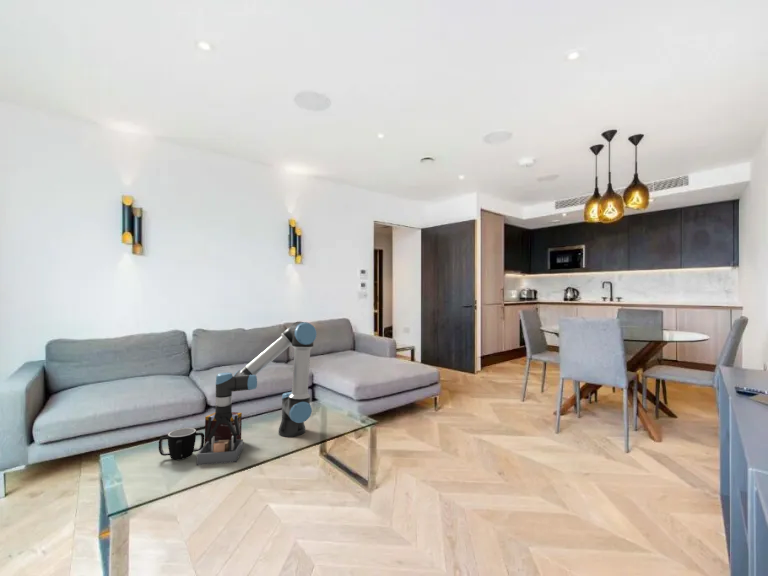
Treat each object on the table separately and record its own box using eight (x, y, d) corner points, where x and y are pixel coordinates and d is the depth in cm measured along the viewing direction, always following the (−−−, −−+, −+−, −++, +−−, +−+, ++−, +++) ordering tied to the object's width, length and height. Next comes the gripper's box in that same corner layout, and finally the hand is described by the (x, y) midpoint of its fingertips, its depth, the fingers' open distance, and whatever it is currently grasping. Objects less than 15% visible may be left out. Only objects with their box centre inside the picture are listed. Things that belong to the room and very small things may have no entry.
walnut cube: (227, 453, 179) (227, 443, 179) (216, 454, 178) (216, 444, 178) (229, 449, 184) (229, 439, 184) (218, 450, 183) (219, 440, 183)
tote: (242, 449, 186) (242, 439, 186) (236, 462, 171) (236, 451, 171) (206, 451, 183) (206, 441, 183) (196, 465, 168) (196, 454, 168)
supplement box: (230, 448, 187) (230, 418, 187) (204, 446, 190) (204, 416, 190) (241, 441, 197) (242, 412, 197) (217, 439, 200) (217, 410, 200)
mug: (188, 447, 188) (188, 424, 189) (207, 454, 180) (207, 429, 181) (155, 459, 174) (156, 434, 175) (174, 467, 166) (174, 440, 166)
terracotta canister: (225, 455, 177) (225, 440, 177) (223, 459, 172) (223, 444, 172) (214, 456, 175) (214, 442, 176) (212, 460, 171) (212, 445, 171)
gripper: (247, 401, 187) (246, 445, 186) (203, 403, 183) (202, 448, 182) (244, 405, 180) (243, 451, 179) (198, 407, 176) (197, 454, 175)
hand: (222, 449), depth 181 cm, fingers open, 9 cm apart
